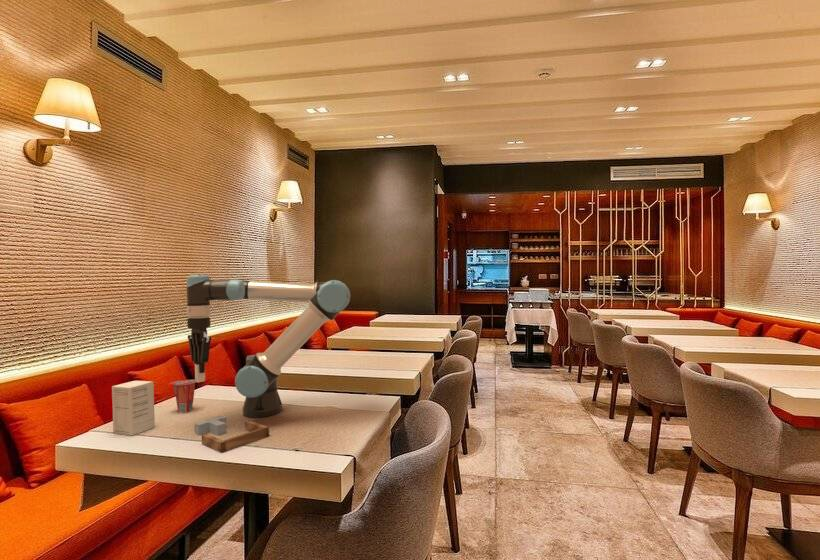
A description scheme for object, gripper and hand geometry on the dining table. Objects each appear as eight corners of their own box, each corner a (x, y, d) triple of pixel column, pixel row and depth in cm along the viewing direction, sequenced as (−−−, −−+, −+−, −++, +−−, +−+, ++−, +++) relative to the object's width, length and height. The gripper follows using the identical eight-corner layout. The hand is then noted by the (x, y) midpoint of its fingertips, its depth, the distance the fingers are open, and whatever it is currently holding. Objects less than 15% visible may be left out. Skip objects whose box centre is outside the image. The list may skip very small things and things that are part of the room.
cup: (192, 406, 180) (192, 378, 180) (199, 410, 174) (199, 381, 174) (168, 411, 173) (167, 382, 173) (174, 416, 167) (174, 385, 167)
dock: (201, 444, 138) (201, 434, 138) (249, 428, 151) (249, 420, 151) (221, 452, 130) (221, 443, 130) (269, 435, 144) (269, 427, 144)
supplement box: (155, 427, 155) (154, 381, 155) (131, 436, 146) (130, 387, 146) (136, 424, 158) (135, 379, 158) (112, 433, 149) (111, 385, 149)
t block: (194, 433, 148) (194, 423, 148) (222, 425, 156) (221, 415, 156) (207, 438, 142) (207, 428, 142) (235, 430, 150) (235, 420, 150)
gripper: (179, 317, 156) (180, 381, 156) (197, 318, 148) (198, 386, 148) (200, 315, 162) (201, 377, 162) (218, 316, 154) (219, 381, 154)
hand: (200, 381), depth 155 cm, fingers closed
